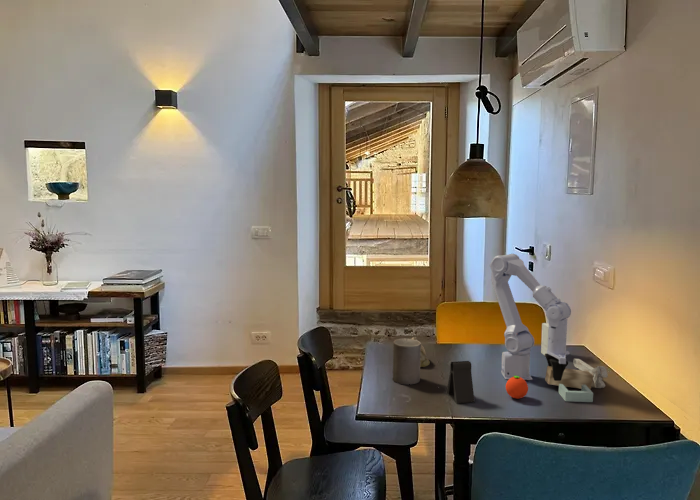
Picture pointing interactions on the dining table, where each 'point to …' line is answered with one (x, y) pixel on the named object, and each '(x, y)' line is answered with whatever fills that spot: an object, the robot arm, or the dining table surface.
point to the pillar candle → (406, 361)
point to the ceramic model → (422, 356)
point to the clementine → (516, 387)
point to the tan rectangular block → (570, 378)
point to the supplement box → (544, 338)
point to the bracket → (576, 394)
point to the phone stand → (460, 382)
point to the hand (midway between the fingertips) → (555, 377)
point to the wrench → (593, 372)
